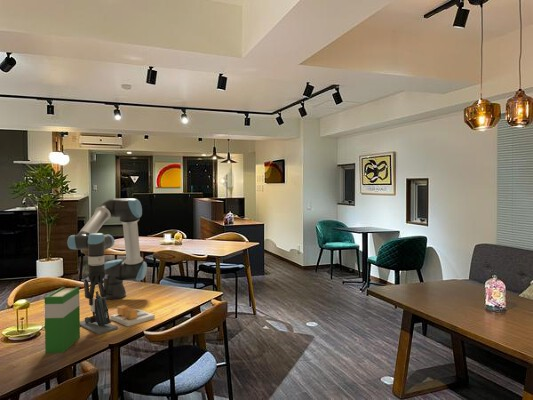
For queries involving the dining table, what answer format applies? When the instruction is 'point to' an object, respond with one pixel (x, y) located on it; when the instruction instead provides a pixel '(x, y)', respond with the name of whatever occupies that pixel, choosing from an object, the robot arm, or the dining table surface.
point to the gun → (99, 312)
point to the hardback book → (62, 319)
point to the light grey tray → (140, 318)
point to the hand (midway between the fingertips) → (96, 310)
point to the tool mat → (98, 327)
